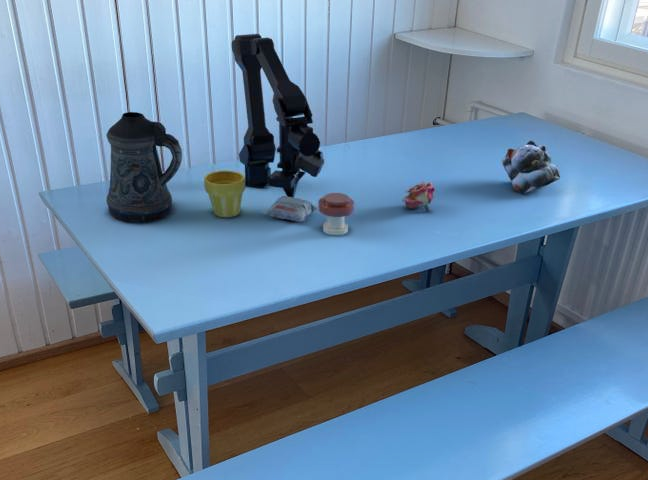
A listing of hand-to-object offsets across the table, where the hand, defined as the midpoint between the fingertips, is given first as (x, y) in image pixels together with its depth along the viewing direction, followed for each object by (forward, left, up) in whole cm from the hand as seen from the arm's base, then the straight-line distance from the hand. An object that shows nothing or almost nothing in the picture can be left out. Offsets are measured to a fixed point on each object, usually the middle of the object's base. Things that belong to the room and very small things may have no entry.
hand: (291, 200), depth 196 cm
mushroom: (+15, -8, -3) cm, 17 cm away
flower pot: (-15, -8, -3) cm, 17 cm away
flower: (+32, +13, -3) cm, 34 cm away
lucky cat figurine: (+60, +41, -3) cm, 73 cm away
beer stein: (-35, -14, -3) cm, 38 cm away
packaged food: (+2, -6, -3) cm, 6 cm away
